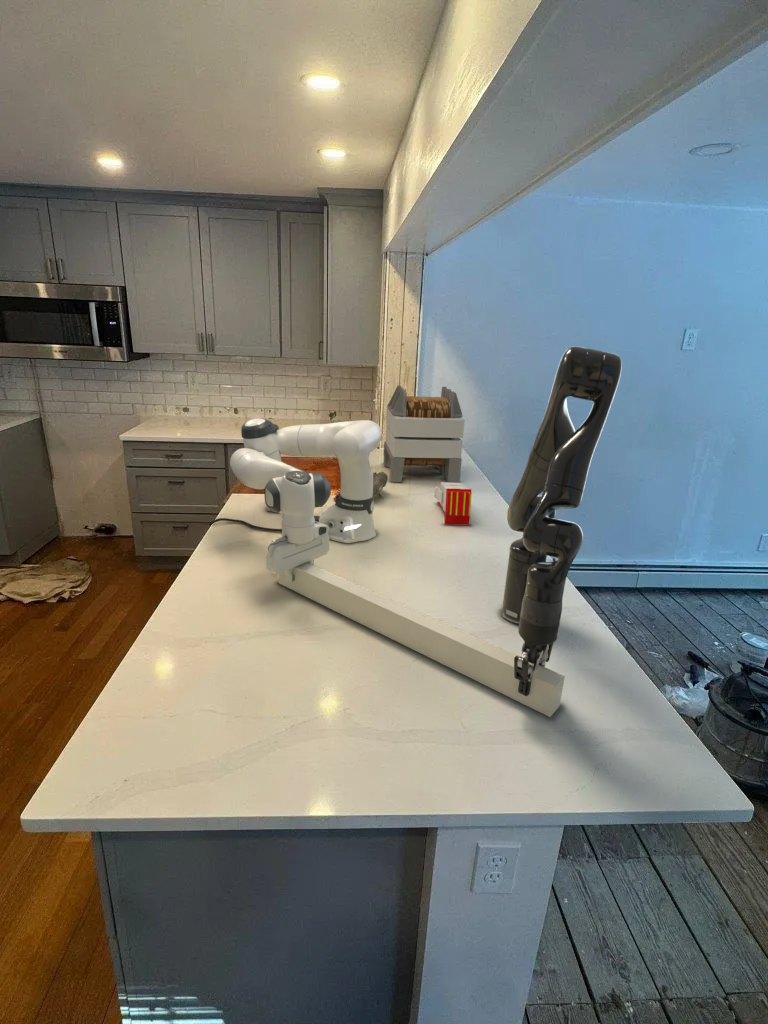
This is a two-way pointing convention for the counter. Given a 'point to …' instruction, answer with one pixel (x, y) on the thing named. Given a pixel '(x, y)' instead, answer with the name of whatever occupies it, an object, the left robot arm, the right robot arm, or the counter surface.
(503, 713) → the counter surface
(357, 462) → the left robot arm
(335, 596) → the post
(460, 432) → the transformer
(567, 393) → the right robot arm
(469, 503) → the toy
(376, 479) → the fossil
